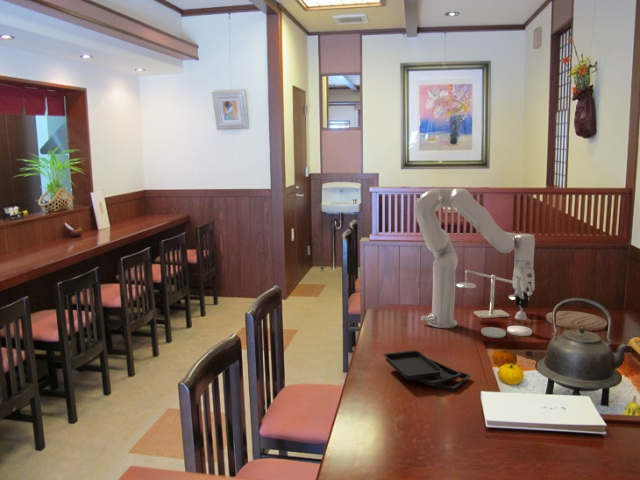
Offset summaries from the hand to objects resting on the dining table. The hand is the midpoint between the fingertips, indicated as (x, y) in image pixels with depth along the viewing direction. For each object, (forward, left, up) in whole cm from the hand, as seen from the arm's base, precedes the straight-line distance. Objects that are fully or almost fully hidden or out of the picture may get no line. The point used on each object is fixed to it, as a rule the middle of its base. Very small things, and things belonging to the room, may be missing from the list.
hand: (521, 305), depth 237 cm
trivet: (+32, +8, -12) cm, 35 cm away
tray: (-58, -38, -12) cm, 70 cm away
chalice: (0, 0, -5) cm, 5 cm away
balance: (0, +25, -12) cm, 28 cm away
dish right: (0, 0, -12) cm, 12 cm away
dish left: (-12, 0, -12) cm, 17 cm away
